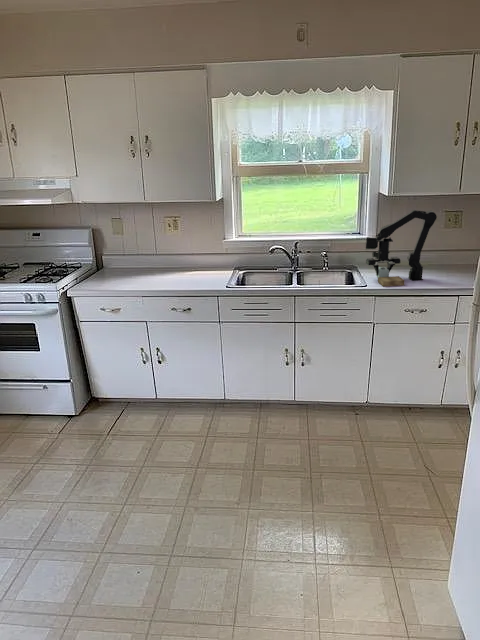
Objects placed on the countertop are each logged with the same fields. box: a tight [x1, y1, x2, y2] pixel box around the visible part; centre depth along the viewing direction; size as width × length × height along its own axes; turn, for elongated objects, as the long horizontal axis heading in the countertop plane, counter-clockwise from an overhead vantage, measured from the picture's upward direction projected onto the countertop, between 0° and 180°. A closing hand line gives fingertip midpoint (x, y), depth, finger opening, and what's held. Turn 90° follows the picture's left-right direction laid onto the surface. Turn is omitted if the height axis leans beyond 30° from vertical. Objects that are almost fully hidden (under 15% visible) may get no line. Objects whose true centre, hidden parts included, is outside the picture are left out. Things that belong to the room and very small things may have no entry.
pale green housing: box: [375, 266, 390, 278], centre depth 280 cm, size 6×8×6 cm
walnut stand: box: [377, 275, 406, 288], centre depth 269 cm, size 12×9×3 cm
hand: (382, 275), depth 280 cm, fingers closed on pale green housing, 6 cm apart
